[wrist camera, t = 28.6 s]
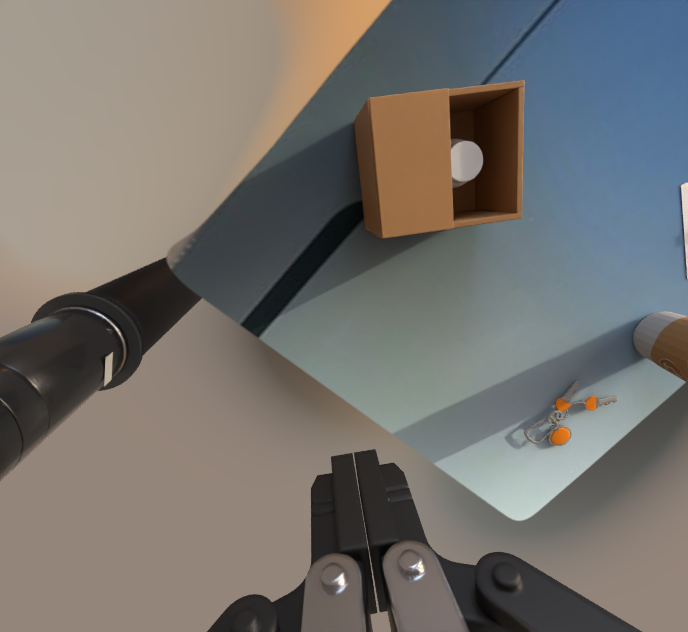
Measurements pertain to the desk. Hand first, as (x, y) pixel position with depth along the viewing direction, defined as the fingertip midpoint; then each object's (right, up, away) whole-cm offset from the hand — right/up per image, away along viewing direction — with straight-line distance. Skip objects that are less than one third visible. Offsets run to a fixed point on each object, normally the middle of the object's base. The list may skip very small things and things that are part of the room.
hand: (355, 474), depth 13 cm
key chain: (+31, -8, +40) cm, 51 cm away
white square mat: (+47, +17, +34) cm, 60 cm away
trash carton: (+8, +21, +29) cm, 37 cm away
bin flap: (+5, +18, +19) cm, 27 cm away
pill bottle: (+10, +21, +28) cm, 37 cm away
